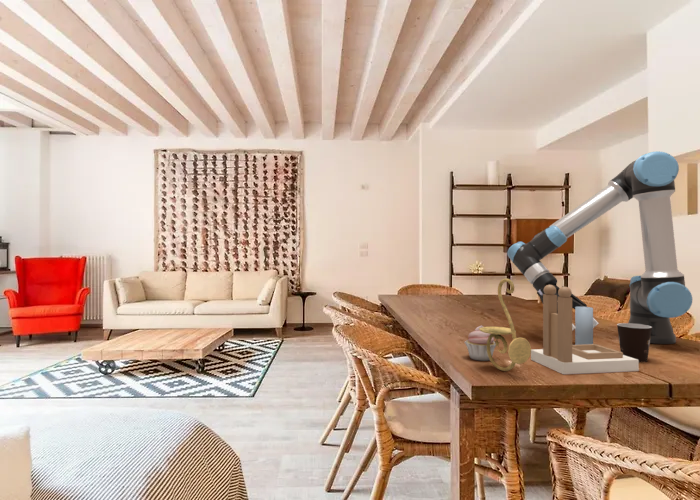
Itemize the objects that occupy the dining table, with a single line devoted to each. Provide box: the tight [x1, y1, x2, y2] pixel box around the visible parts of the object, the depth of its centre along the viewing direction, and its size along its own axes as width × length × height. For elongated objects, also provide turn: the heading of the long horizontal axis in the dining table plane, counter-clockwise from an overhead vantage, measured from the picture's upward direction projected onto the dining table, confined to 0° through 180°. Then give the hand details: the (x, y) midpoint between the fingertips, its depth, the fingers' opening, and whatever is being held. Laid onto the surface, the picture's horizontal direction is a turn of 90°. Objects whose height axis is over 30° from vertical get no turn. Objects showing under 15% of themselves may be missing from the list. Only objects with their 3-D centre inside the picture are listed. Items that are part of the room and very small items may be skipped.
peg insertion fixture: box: [530, 285, 640, 375], centre depth 119 cm, size 22×15×23 cm
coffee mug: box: [616, 322, 652, 363], centre depth 126 cm, size 12×9×10 cm
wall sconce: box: [479, 278, 532, 372], centre depth 113 cm, size 14×10×25 cm
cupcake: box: [464, 325, 497, 362], centre depth 126 cm, size 9×9×10 cm
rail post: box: [574, 306, 594, 345], centre depth 135 cm, size 5×5×14 cm
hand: (584, 328), depth 135 cm, fingers open, 13 cm apart
